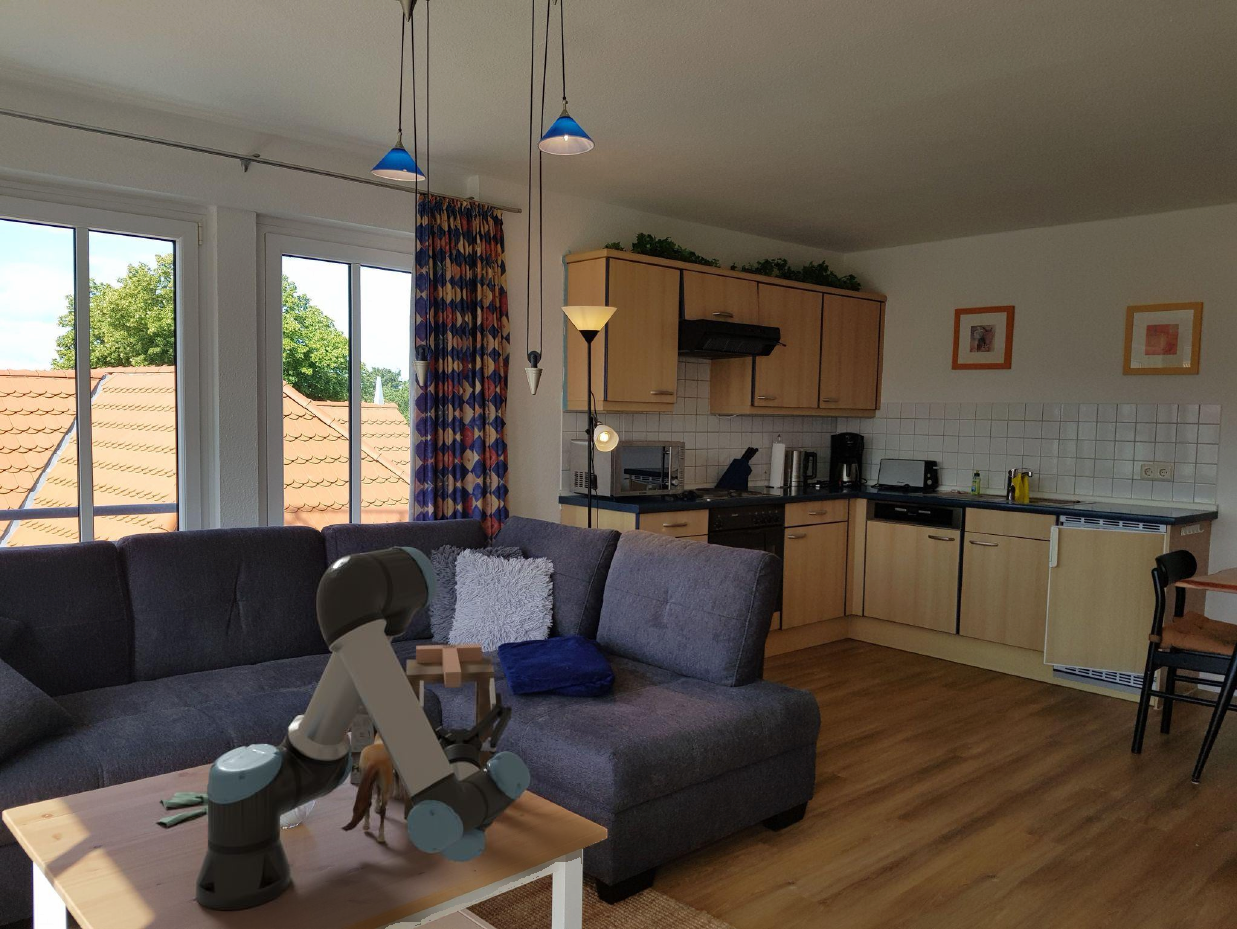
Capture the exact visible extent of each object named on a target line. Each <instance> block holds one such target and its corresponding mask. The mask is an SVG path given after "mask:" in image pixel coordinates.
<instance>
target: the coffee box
mask: <svg viewBox="0 0 1237 929" xmlns="http://www.w3.org/2000/svg"><path fill="white" fill-rule="evenodd" d="M377 733H378V732H377V730H376V728H375V726H374V724H373V722H372V720H371V718H370V716H369V714H368V712H367V709H366V707H365V705H364V703H363V702H362V704H361V706H360V708H359V710H358V712H357V714H356V717H355V719H354V721H353V723H352V725H351V727H350V742H351V747H352V753H350V754H351V757H353V764H352V768H351V771H350V774H349V776H350V777H349V782H350V784H360V782H361V780H362V776H361V771H360V766H359V763H360V756H361V753H362V751H363V749H364V748H366V747H367V746H369V745H373V744H374V740H375V737H376V734H377ZM374 785H376V781H375V783H374Z"/></svg>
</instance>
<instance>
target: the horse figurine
mask: <svg viewBox="0 0 1237 929" xmlns="http://www.w3.org/2000/svg"><path fill="white" fill-rule="evenodd" d="M359 766H360V771H361V776H362V780H361V782H360V783H359V786H358V788H357V792H356V795H355V801H354V805H353V808H352V816H351V820H350V821H349V822H348V823H347V824H346V825H344V826H343V827H341V828H340V830H342V831H345V832H348V831H352V830H354V829H355V828H357V827H358V826H359V823H360V822H361V821H362V820H363V819H364V822H363V824H362V830H364V831H369V830H370V829H371V826H370V824H371V823H370V821H369V820H370V817H371V814H370V812H371V807H372V806H373V801H372V800H373V792H374V785H375V788H376V798H375V802H374V803H375V806H374V809H373V811H374V812H375V813H379V817H380V819H379V820H380V821H379V822H380V823H379V826H378V827H379V828H378V835H377V837H376V841H377V842H381V843H383V842H384V841H385V839H386V837H385V828H384V827H385V826H384V825H385V818H386V814H387V805H388V803H389V799H390V793H391V789H392V788H391V787H392V785H393V781H394V780H395V781H394V791H393V793H392V799H397V798H398V799H400V797H401V796H400V790H399V789H400V777H399V775H398V773H397V771H396V769H395V767H394V765H393V762H392V760H391V758H390V756H389V754H388V752H387V750H386V748H385V746H384V744H383V742H382V740H381V738H380V736H379V734H378V733H377V734H376V737H375V740H374V744H373V745H369V746H367V747H366V748H364V749H363V751H362V753H361V756H360V763H359ZM375 781H376V784H374V783H375ZM398 799H397V800H398Z"/></svg>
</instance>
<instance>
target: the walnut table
mask: <svg viewBox="0 0 1237 929" xmlns="http://www.w3.org/2000/svg"><path fill="white" fill-rule="evenodd" d="M459 664H460V669H461V683H475V688H474V689H475V690H474V691H475V694H474V695H475V696H474V697H475V698H474V726H475V725H477V724H478V723H479V722H480V721H481V720H482V719H483V718H484V717H485V716H486V715H487V714H488V713H489V712H490V711H491V703H490V689H489V687H490V678H494V679H495V670H494V669H495V668H494V666H493V663H492V660H491V657H490V656H482V661H460V662H459ZM405 675H406V677H407V679H408V681H409V683H410V685H411V687H412V689H413V691H414V693H415V695H416V696H420V681H424V685H426V684H427V685H428V684H429V685H430V684H445V681H444V673H443V665H442V662H432V663H416V658H415V659H406V673H405ZM494 725H495V723H494V724H493V725H492V726H491V727H490V728H489V729H488V730H487V731H486V732H485V733H484V734H483V736H482V737H481V738H480V741H481V742H482V743H485V742H486V740H487V739H488V738H489V737H490V738H491V734H492V732H493V730H494ZM493 757H494V754H490V751H481V753H480V761H481V769H482V768H483V767H484V766H485V765H486V764H487V762H488V761H489V760H490V759H492V758H493ZM403 807H404V808H403V809H404V810H403V811H404V812H403V818H404V819H407V818H408V815H409V813H410V811H411V810H412V809H413V808H414V806H413V804H412V802H411V800H410V797H409V795H408V793H407V791H406V789H405V788H404V806H403Z"/></svg>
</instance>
